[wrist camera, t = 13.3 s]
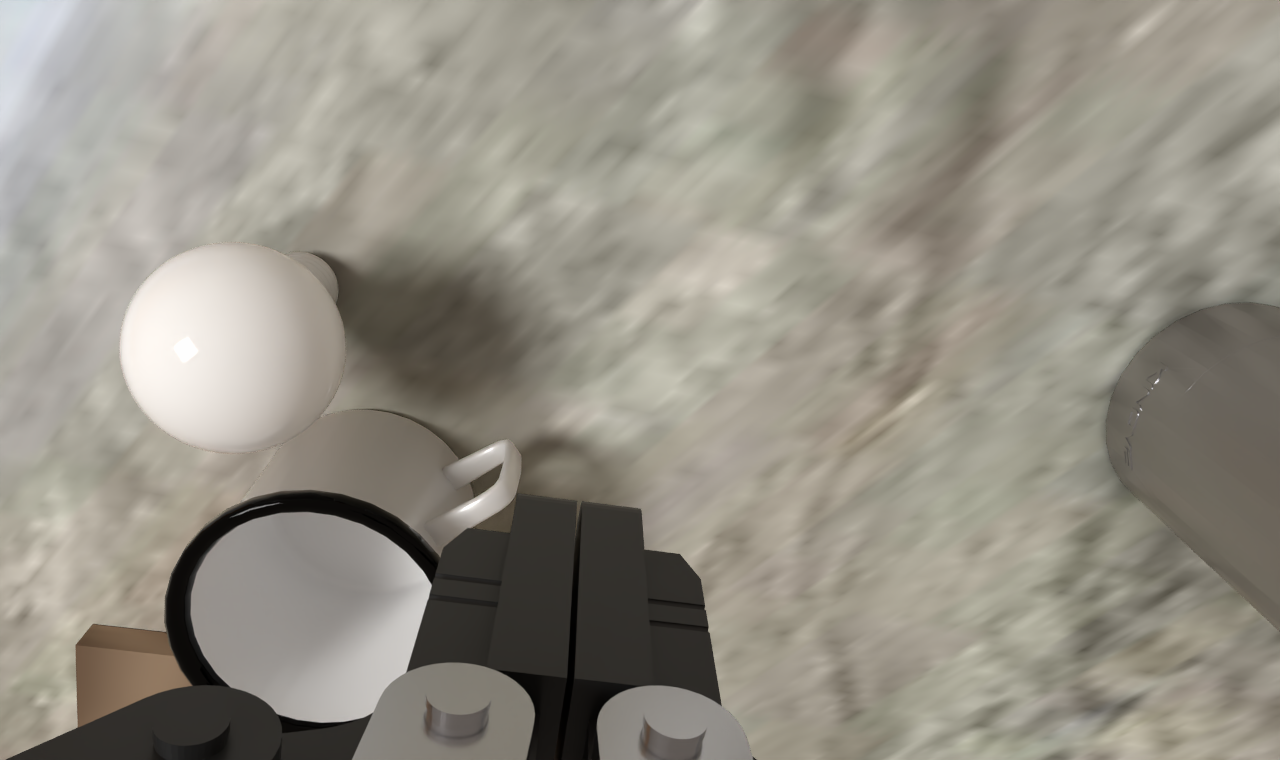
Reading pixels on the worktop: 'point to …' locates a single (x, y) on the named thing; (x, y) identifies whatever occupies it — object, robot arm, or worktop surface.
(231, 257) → the lightbulb
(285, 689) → the mug
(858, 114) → the worktop surface
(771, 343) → the worktop surface
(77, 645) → the walnut board
